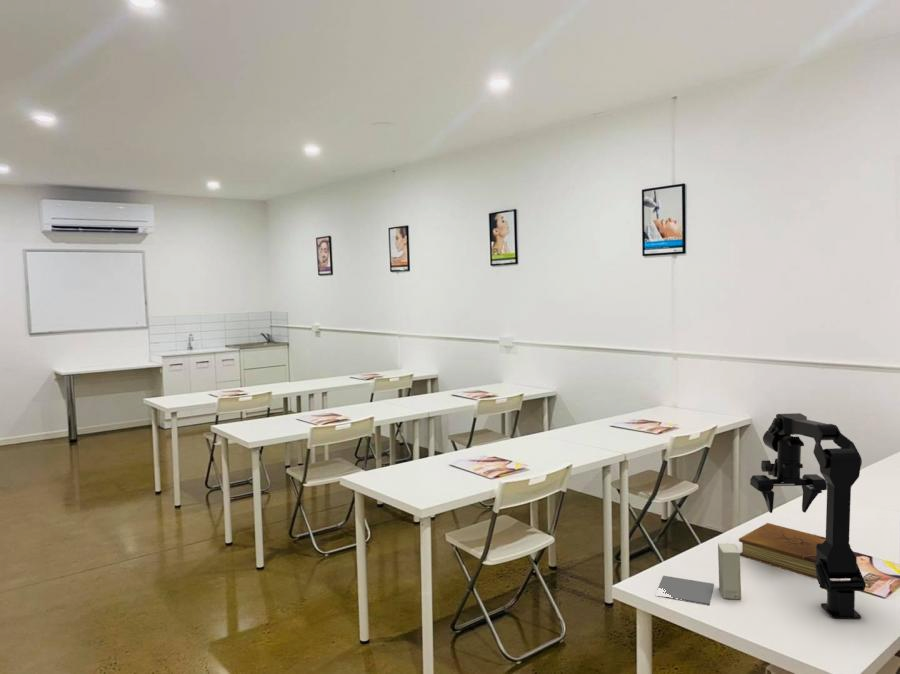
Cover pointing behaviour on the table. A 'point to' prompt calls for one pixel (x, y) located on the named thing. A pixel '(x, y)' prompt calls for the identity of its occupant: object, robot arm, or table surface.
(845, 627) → the table surface
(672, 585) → the mat
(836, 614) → the robot arm
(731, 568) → the skincare box
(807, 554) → the diary
